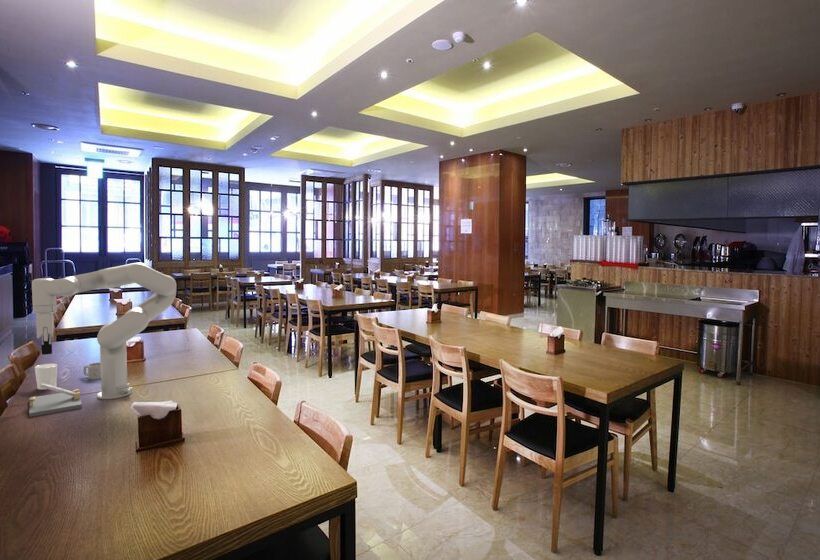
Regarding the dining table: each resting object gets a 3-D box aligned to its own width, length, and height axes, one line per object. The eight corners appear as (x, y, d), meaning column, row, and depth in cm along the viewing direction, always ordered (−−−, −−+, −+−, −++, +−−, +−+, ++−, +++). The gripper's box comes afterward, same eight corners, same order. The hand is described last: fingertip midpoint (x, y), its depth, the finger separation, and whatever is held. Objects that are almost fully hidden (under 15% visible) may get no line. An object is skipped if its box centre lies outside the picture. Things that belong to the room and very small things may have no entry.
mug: (108, 375, 222) (107, 362, 222) (97, 379, 216) (97, 366, 215) (89, 375, 223) (89, 362, 223) (78, 379, 217) (77, 365, 216)
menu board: (78, 393, 196) (77, 384, 195) (81, 407, 179) (81, 397, 178) (30, 401, 186) (29, 391, 185) (29, 417, 169) (28, 406, 168)
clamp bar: (77, 396, 188) (79, 392, 188) (77, 398, 186) (79, 394, 186) (39, 385, 180) (42, 382, 180) (39, 387, 177) (42, 383, 178)
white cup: (48, 390, 199) (47, 368, 199) (31, 390, 200) (30, 368, 199) (62, 384, 207) (61, 363, 206) (45, 384, 207) (44, 363, 207)
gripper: (34, 307, 184) (36, 351, 186) (31, 312, 172) (33, 359, 174) (57, 306, 189) (59, 349, 190) (56, 310, 177) (58, 356, 178)
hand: (47, 353), depth 182 cm, fingers closed
